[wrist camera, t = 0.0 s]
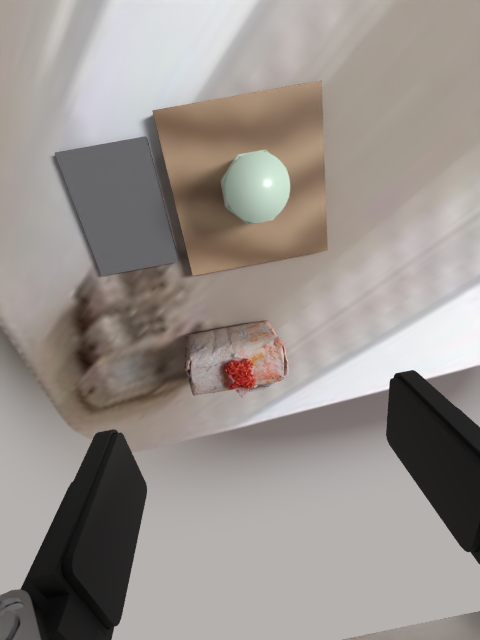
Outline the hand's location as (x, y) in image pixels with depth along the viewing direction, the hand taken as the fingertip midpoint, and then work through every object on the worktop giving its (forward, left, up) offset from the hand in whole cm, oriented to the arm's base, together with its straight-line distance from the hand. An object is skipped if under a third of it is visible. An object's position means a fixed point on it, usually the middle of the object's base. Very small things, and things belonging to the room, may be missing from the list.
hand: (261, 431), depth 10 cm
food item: (+14, -1, -32) cm, 34 cm away
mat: (-7, -11, -31) cm, 34 cm away
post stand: (-7, +5, -31) cm, 32 cm away
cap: (-7, +5, -30) cm, 31 cm away
